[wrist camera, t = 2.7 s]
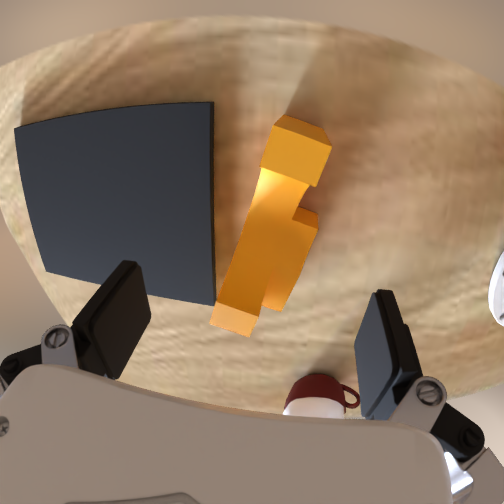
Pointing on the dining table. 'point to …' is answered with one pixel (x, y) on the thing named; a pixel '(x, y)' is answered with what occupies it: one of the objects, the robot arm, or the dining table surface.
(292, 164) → the pipe clamp
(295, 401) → the cocoa
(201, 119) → the mat
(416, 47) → the dining table surface
